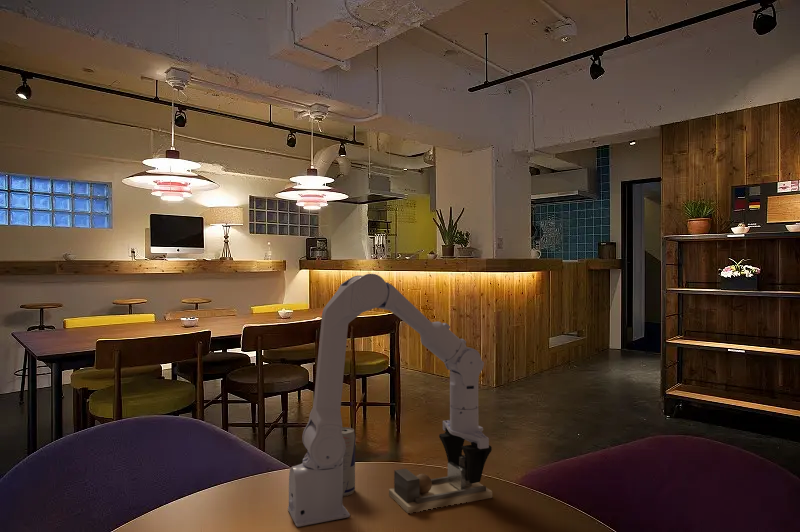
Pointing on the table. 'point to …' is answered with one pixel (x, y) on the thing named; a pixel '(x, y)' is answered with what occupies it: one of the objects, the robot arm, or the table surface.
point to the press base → (432, 492)
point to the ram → (459, 473)
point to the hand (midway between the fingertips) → (464, 475)
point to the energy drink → (349, 461)
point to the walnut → (424, 483)
